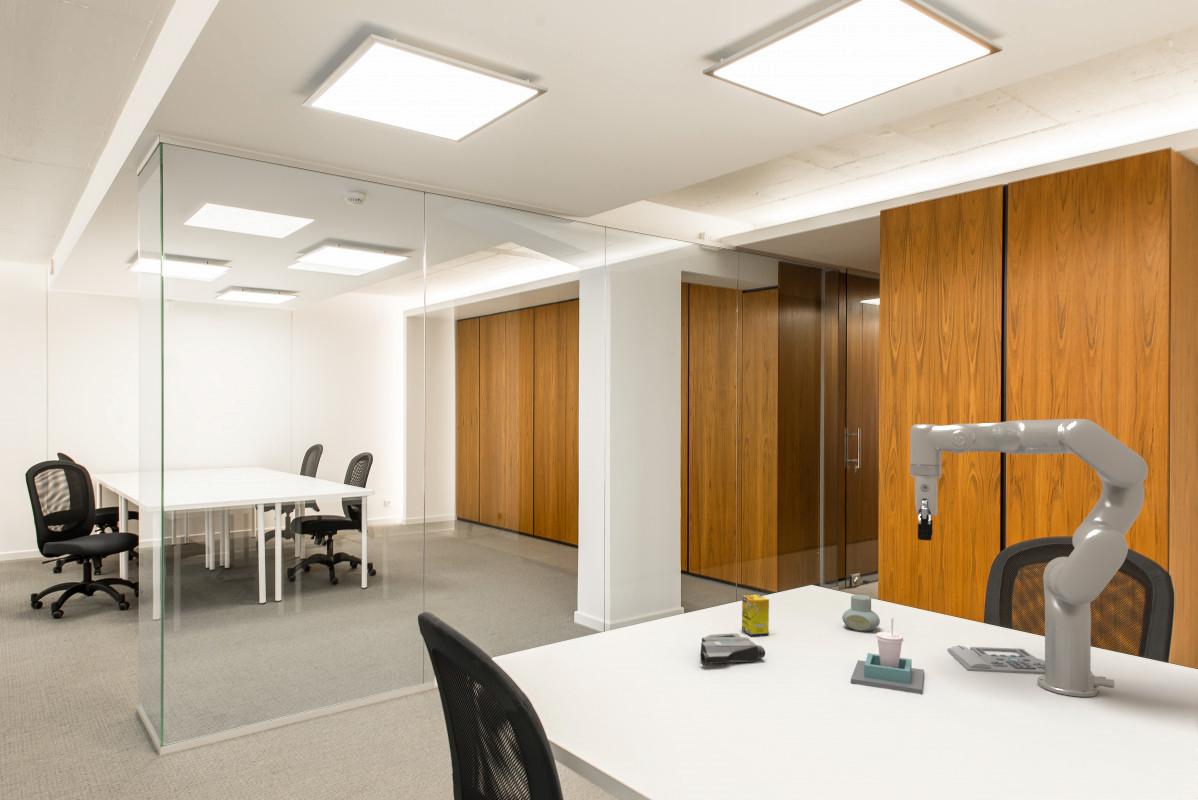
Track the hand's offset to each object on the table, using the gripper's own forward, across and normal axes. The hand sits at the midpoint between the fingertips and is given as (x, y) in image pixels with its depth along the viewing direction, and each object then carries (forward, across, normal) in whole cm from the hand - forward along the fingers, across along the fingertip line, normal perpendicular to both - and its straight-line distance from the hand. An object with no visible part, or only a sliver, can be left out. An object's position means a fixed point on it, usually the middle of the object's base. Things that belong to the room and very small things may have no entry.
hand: (925, 537), depth 197 cm
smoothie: (+34, -11, +8) cm, 36 cm away
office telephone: (+35, +18, -18) cm, 43 cm away
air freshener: (+35, +33, +19) cm, 51 cm away
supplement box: (+34, +12, +47) cm, 60 cm away
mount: (+34, -11, +8) cm, 37 cm away
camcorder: (+35, -14, +49) cm, 61 cm away
